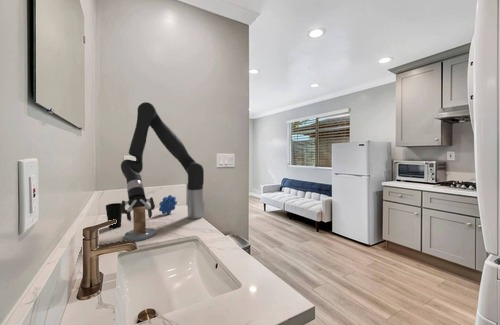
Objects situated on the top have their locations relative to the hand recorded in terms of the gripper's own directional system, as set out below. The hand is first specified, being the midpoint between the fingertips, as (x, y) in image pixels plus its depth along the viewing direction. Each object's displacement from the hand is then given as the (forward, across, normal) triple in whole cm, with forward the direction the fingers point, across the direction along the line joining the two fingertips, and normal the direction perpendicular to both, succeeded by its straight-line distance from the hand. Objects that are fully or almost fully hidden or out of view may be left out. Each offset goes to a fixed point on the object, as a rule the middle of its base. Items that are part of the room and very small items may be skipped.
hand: (140, 218), depth 106 cm
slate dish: (+5, 0, +7) cm, 9 cm away
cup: (-10, -9, +22) cm, 26 cm away
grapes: (-17, +21, +29) cm, 40 cm away
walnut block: (+4, 0, +6) cm, 7 cm away
